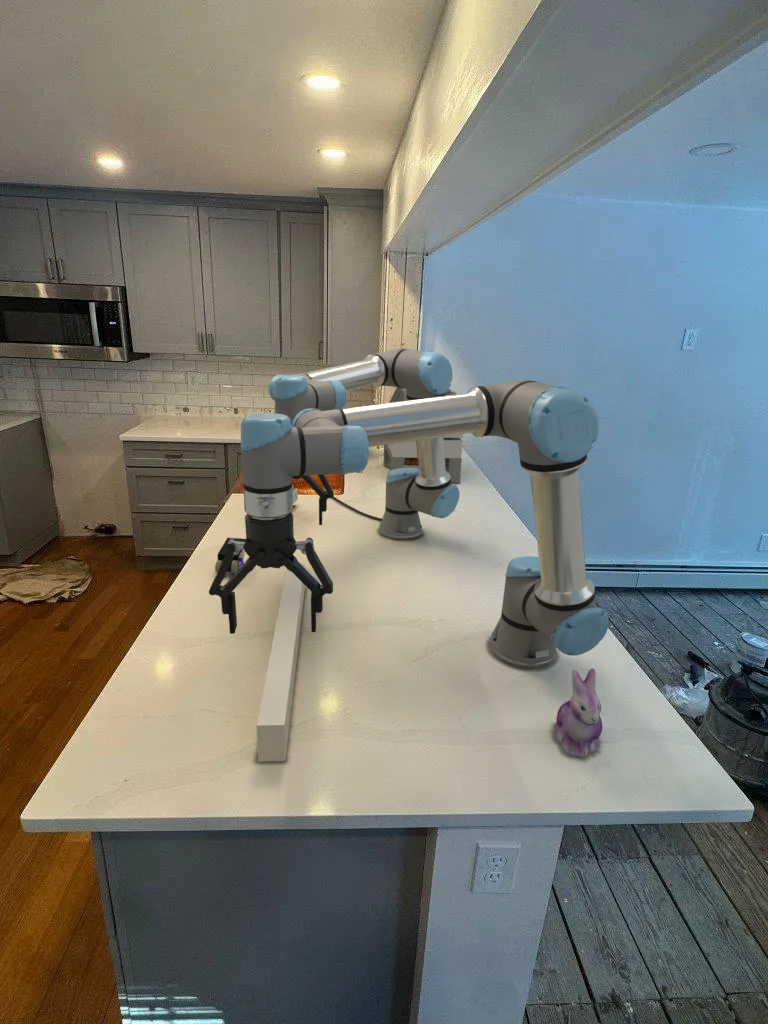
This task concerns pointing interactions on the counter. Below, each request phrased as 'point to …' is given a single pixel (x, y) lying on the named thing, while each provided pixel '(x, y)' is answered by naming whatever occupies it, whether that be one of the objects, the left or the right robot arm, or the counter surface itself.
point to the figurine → (580, 717)
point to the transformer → (407, 451)
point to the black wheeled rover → (235, 561)
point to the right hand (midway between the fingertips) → (273, 629)
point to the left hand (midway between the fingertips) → (293, 523)
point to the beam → (281, 674)
